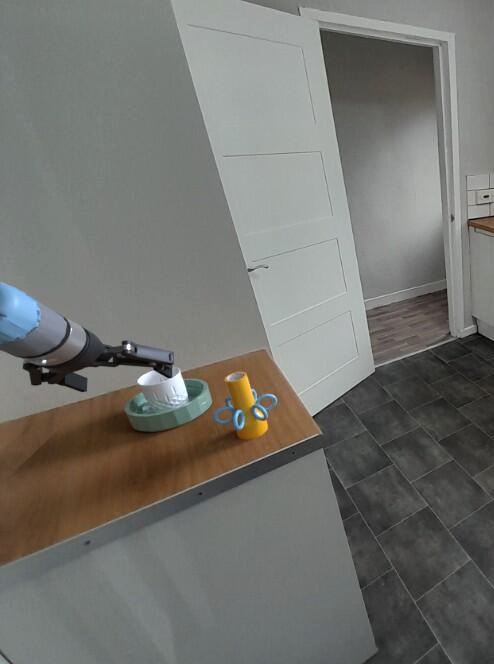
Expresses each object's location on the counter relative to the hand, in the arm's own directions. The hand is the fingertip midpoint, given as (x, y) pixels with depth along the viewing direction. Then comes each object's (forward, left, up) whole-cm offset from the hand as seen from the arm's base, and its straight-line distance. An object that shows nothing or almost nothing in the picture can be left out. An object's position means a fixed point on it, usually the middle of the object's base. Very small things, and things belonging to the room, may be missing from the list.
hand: (128, 378), depth 82 cm
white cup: (-1, +12, -16) cm, 20 cm away
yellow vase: (+19, -1, -17) cm, 26 cm away
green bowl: (-1, +12, -17) cm, 21 cm away
